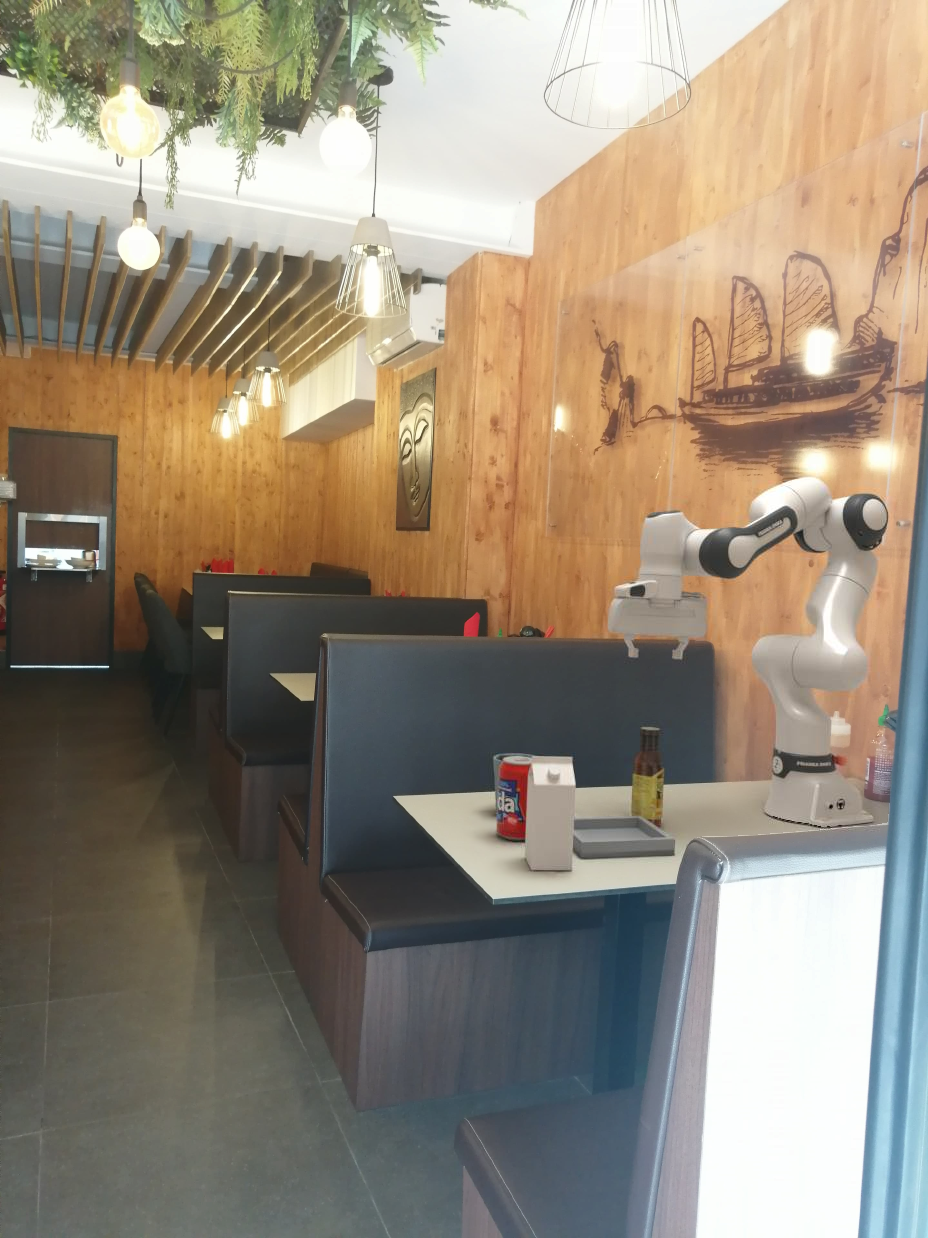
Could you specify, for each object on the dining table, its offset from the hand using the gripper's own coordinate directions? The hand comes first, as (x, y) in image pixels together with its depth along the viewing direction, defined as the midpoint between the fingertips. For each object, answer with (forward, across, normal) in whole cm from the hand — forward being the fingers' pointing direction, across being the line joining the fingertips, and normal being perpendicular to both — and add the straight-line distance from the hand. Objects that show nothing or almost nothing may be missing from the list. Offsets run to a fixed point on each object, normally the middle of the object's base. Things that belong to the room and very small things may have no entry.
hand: (655, 658), depth 180 cm
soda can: (+35, +28, +7) cm, 46 cm away
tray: (+35, +11, +12) cm, 38 cm away
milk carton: (+35, +26, +23) cm, 50 cm away
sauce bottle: (+34, 0, 0) cm, 34 cm away
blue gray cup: (+35, +25, -8) cm, 44 cm away
